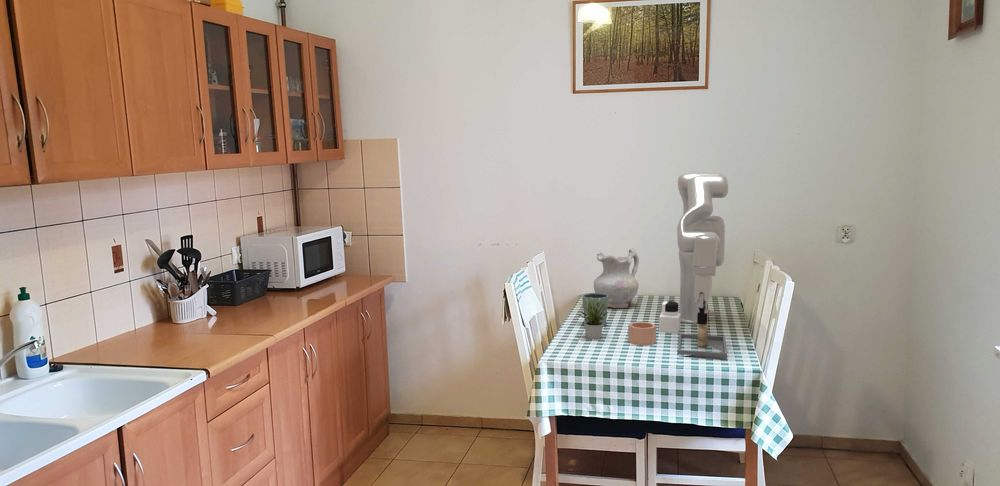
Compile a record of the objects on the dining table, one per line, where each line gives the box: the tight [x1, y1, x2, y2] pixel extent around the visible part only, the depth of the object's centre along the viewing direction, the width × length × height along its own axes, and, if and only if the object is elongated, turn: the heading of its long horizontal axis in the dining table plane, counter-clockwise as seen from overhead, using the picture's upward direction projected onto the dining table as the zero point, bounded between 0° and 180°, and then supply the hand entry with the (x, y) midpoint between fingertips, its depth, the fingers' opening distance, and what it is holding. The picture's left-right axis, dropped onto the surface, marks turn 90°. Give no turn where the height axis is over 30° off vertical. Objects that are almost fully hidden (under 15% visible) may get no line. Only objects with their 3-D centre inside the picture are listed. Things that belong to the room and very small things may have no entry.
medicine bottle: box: [658, 300, 681, 334], centre depth 274 cm, size 7×7×12 cm
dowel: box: [696, 306, 709, 348], centre depth 251 cm, size 3×3×14 cm
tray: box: [677, 333, 728, 361], centre depth 252 cm, size 22×16×2 cm
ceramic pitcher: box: [593, 248, 640, 309], centre depth 320 cm, size 22×20×25 cm
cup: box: [627, 321, 657, 346], centre depth 259 cm, size 9×9×7 cm
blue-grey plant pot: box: [581, 292, 608, 328], centre depth 287 cm, size 10×10×12 cm
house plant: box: [575, 297, 613, 340], centre depth 265 cm, size 14×14×16 cm
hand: (702, 322), depth 251 cm, fingers closed on dowel, 3 cm apart
